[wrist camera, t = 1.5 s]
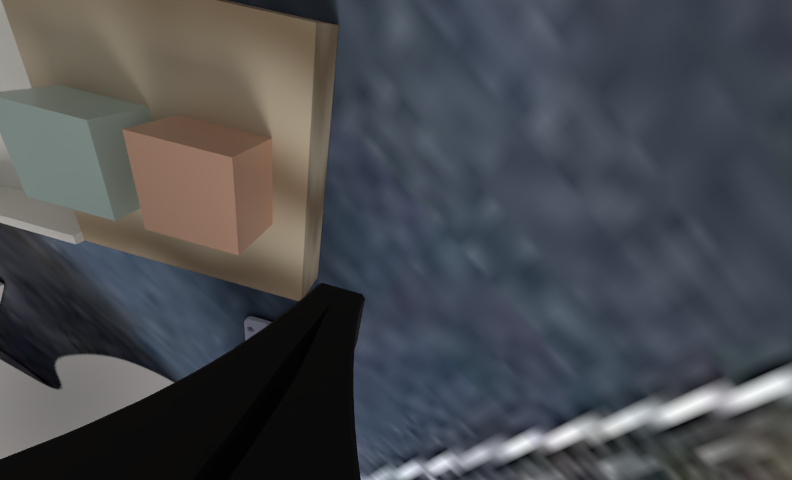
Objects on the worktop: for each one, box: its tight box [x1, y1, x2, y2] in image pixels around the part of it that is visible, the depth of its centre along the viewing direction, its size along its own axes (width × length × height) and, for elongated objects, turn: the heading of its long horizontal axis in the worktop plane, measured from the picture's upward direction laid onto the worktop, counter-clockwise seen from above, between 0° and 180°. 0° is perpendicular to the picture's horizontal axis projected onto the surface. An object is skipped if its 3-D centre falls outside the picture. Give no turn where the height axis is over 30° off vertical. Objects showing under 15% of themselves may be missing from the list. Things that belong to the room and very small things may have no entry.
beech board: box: [1, 0, 339, 301], centre depth 18 cm, size 14×14×2 cm
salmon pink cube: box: [122, 115, 273, 255], centre depth 15 cm, size 4×4×3 cm
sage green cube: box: [0, 85, 152, 221], centre depth 16 cm, size 4×4×3 cm
